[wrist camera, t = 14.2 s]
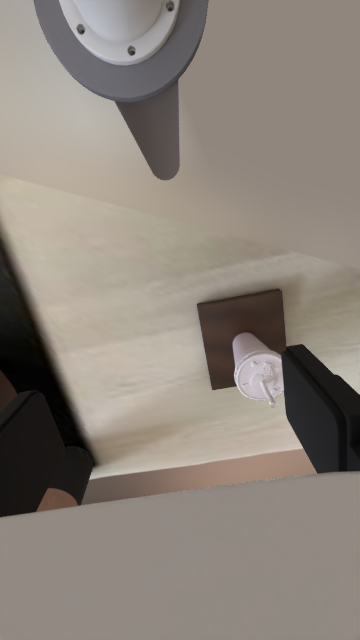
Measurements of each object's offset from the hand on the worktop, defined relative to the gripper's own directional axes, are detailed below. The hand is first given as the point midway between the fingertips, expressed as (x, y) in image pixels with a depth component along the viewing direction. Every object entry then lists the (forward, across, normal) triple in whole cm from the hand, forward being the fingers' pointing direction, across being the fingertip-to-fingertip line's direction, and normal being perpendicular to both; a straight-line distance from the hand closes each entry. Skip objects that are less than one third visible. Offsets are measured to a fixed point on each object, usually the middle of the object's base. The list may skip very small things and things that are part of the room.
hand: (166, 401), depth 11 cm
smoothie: (+29, -8, +12) cm, 32 cm away
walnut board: (+30, -8, +12) cm, 34 cm away
